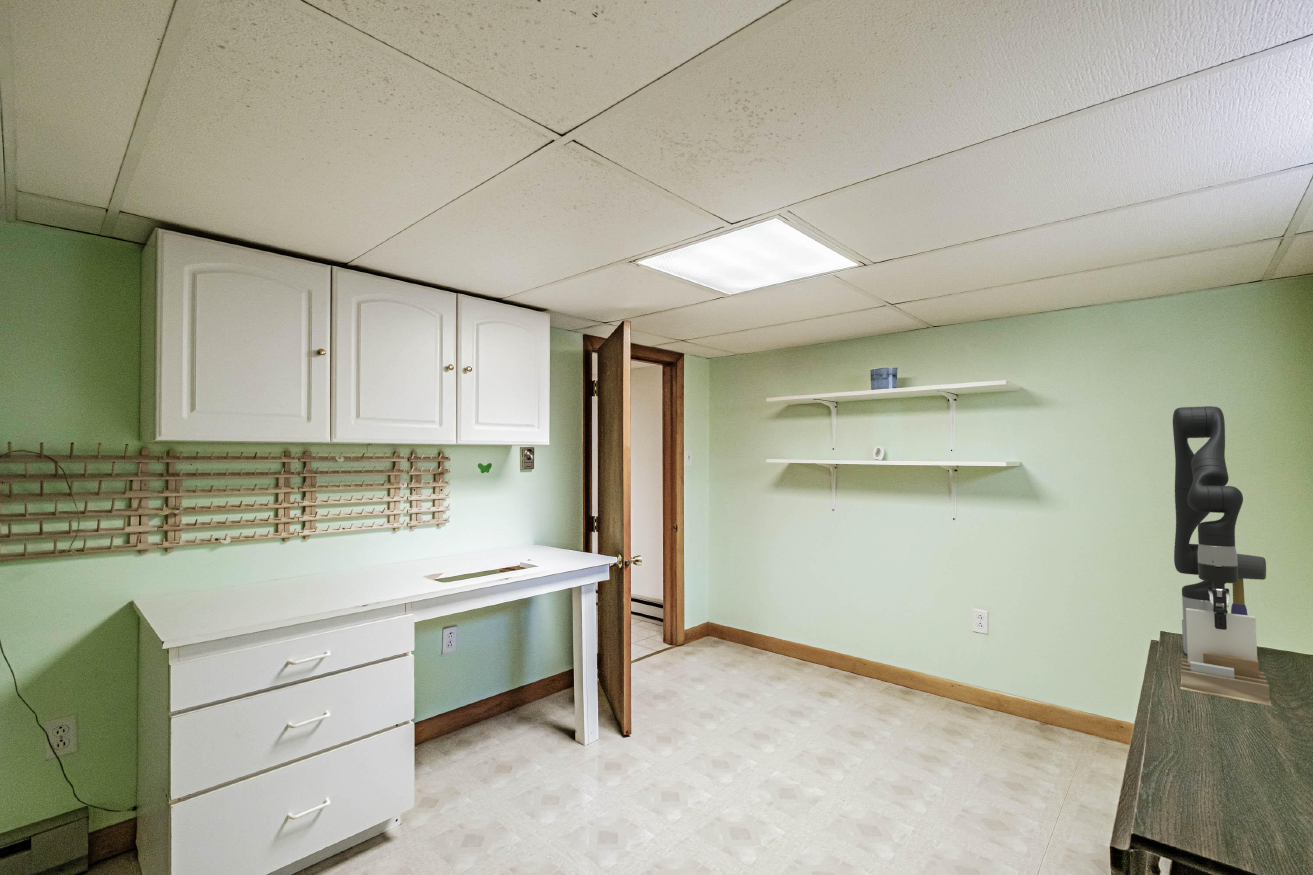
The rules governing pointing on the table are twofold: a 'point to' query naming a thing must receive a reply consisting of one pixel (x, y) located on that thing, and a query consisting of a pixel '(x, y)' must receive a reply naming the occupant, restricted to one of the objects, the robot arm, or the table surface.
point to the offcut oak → (1234, 664)
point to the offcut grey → (1212, 669)
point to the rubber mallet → (1246, 570)
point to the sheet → (1220, 635)
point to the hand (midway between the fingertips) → (1220, 625)
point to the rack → (1226, 685)
